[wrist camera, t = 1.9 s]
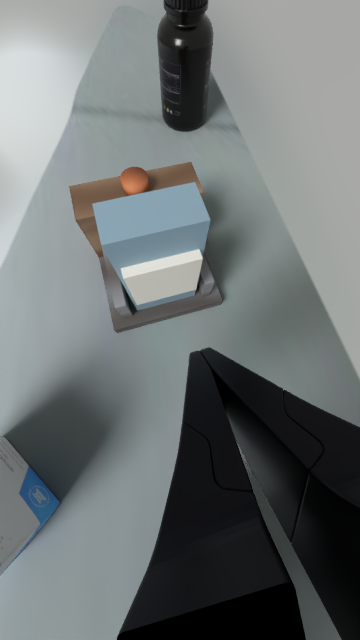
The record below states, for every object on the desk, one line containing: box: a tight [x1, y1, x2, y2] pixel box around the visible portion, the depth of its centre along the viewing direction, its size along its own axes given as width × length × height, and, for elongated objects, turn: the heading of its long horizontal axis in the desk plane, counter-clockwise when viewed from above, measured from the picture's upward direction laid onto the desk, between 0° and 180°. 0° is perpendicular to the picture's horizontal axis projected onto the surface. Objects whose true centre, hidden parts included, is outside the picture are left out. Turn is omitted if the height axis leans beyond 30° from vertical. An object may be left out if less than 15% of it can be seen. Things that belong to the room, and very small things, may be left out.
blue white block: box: [92, 182, 211, 311], centre depth 17 cm, size 4×6×11 cm, turn 106°
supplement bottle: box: [157, 0, 213, 131], centre depth 27 cm, size 7×7×12 cm
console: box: [69, 162, 223, 333], centre depth 21 cm, size 13×12×8 cm
